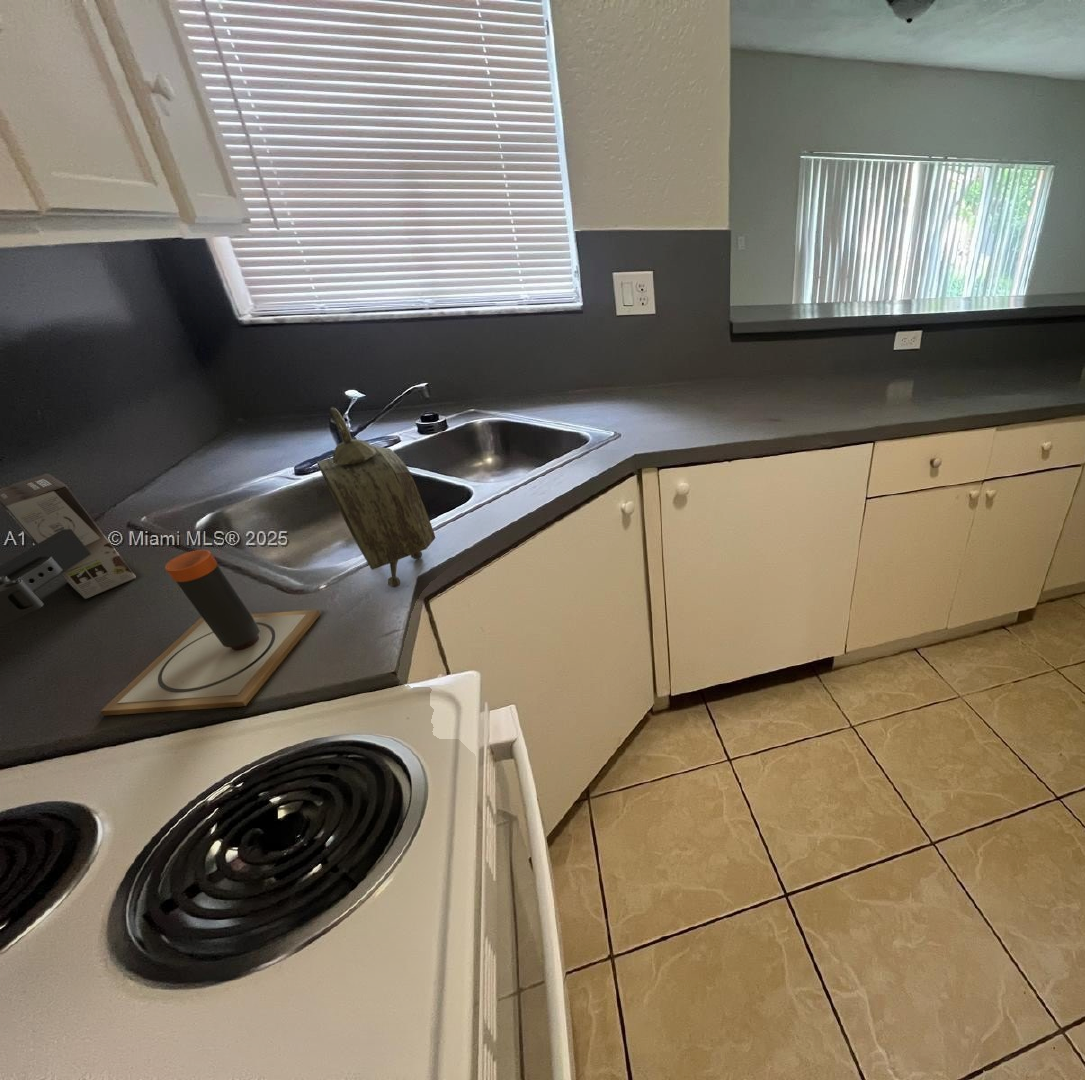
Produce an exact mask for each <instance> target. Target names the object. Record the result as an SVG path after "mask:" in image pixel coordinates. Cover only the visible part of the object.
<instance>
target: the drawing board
mask: <svg viewBox="0 0 1085 1080" xmlns="http://www.w3.org/2000/svg"><path fill="white" fill-rule="evenodd" d="M250 614H251V616H252V617H253V619H254V620H255V622H256V623H257V625H258V626H259V628H260V632H259V634H258V635H259V640H258V641H257V642H256V643H255V644H253V645H252V646H250V647H248V648H246V649H243V650H233V649H232V648H231V647H225V646H223V645H222V643H221V642H220V641H219V639H218V638H217V637H216V635H215V634H214V633H213V631H212V630H211V628H210V627H209V626H208V624H207V623H206V622H205V620H204V619H203V618H202V616H201V617H199V619H198V620H196V621H195V622H194V623H193V624H192V625H191V626H190V627H189V628H188V629H187V630H186V631H185V632H184V633H182V634H181V635H180V636H179V637H178V638H177V639H176V640H175V641H174V642H172V644H171V645H170V646H169V647H168V648H166V649H165V650H164V651H162V653H161V654H160V655H159V656H158V657H156V659H155V660H153V661H152V662H151V663H150V664H149V665H148V666H147V667H146V668H144V669H143V670H142V672H140V673H139V674H138V675H137V676H136V677H135V678H134V679H133V680H132V681H130V682H129V684H127V686H125V687H124V688H123V689H122V690H121V691H120V692H119V693H118V694H116V696H115V697H114V698H112V699H111V700H110V701H109V702H108V703H107V704H106V705H105V706H103V708H102V709H101V710H100V711H99V712H100V713H101V714H102V715H103V716H105V717H107V716H118V715H120V716H121V715H133V714H135V715H137V714H150V713H161V712H162V713H164V712H178V711H194V710H207V709H222V708H223V709H224V708H235V707H236V708H238V707H247V705H248V704H249V703H250V702H251V701H252V699H253V698H254V696H256V695H257V693H258V692H259V690H261V688H262V687H263V686H264V684H265V683H266V682H267V681H268V679H269V678H270V677H271V676H272V675H273V673H274V672H275V671H276V670H277V669H278V667H279V666H280V665H281V664H282V662H283V661H284V660H285V659H286V657H287V656H288V655H289V654H290V652H291V651H292V650H293V649H294V647H295V646H296V645H298V643H299V641H301V639H302V638H303V637H304V636H305V634H306V633H307V632H308V630H309V629H310V628H311V627H312V626H313V624H314V623H315V622H316V621H317V620H318V618H319V617H320V616H321V615H322V614H321V611H320V609H308V610H306V609H305V610H294V611H278V612H277V611H276V612H275V611H274V612H262V613H250Z"/></svg>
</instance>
